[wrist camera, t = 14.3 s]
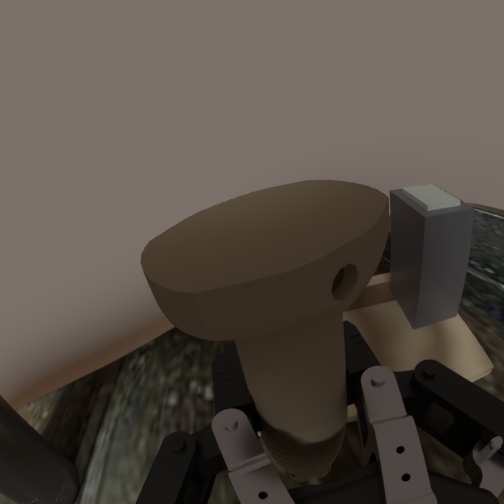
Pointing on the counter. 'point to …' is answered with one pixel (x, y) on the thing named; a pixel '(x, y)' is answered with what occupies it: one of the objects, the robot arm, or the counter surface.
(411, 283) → the grey tall block
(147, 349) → the counter surface
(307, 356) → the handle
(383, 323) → the subfloor panel
